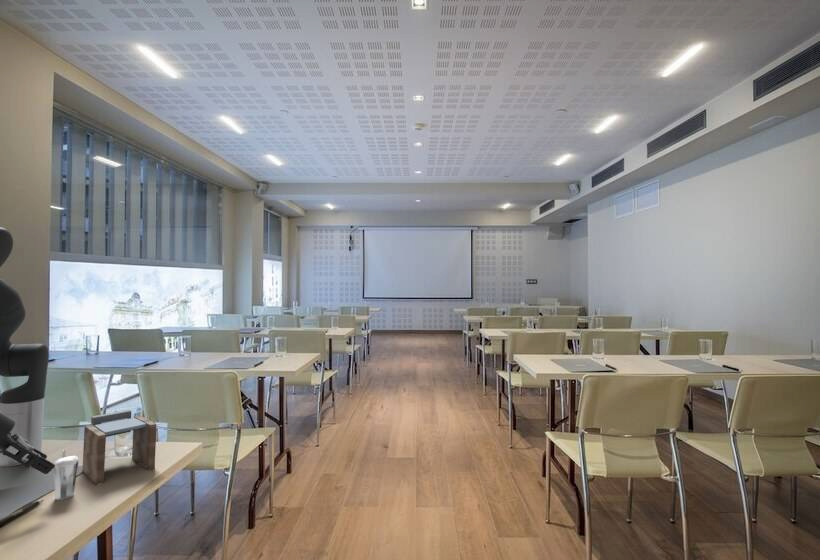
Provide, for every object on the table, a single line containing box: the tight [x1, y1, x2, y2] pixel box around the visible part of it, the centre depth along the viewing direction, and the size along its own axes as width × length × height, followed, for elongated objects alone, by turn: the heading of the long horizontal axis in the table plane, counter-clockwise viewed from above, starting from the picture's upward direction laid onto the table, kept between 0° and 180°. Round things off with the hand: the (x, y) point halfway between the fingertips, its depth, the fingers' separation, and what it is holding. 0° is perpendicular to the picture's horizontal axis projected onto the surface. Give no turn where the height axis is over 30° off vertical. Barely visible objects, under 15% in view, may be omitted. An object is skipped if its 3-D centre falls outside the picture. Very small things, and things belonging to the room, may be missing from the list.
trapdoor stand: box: [81, 415, 157, 485], centre depth 109 cm, size 13×13×12 cm
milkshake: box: [53, 450, 80, 501], centre depth 94 cm, size 4×5×10 cm
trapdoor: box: [90, 409, 146, 438], centre depth 111 cm, size 13×9×6 cm
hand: (46, 464), depth 92 cm, fingers open, 8 cm apart
